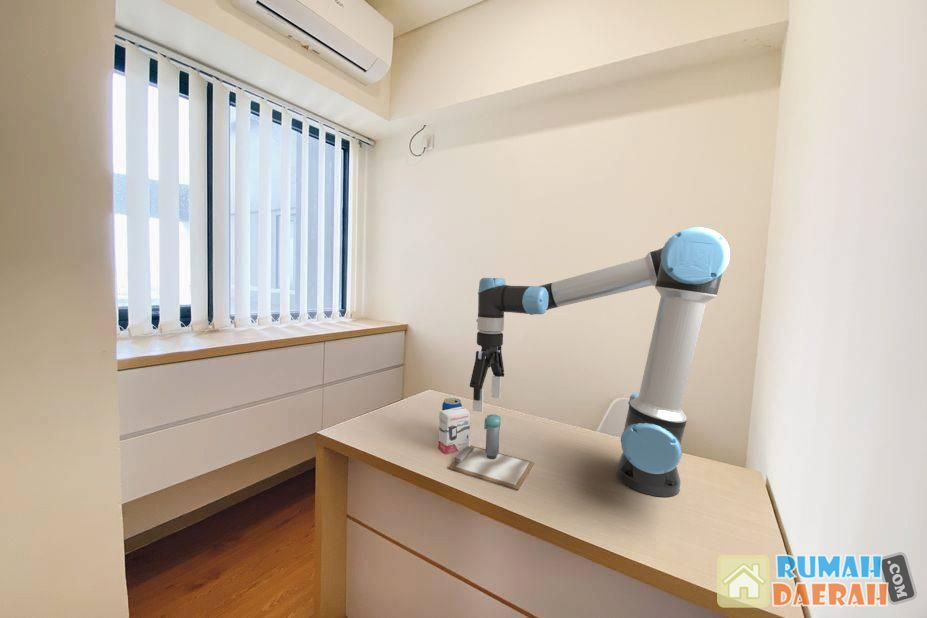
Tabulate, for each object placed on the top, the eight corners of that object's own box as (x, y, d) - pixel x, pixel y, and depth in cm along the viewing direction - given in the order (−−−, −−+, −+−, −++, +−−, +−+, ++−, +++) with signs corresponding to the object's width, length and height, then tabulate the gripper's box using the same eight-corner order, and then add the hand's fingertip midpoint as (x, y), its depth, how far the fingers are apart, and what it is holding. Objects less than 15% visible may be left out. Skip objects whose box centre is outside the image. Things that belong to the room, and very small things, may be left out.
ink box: (446, 455, 104) (447, 416, 103) (437, 448, 108) (439, 410, 107) (469, 448, 108) (471, 411, 108) (460, 441, 113) (462, 406, 112)
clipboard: (533, 463, 101) (534, 458, 100) (517, 490, 87) (518, 484, 87) (470, 446, 109) (471, 441, 109) (447, 468, 96) (447, 462, 96)
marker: (499, 454, 104) (501, 415, 102) (497, 461, 100) (499, 421, 98) (484, 451, 105) (486, 413, 103) (481, 458, 101) (483, 419, 99)
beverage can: (464, 437, 116) (465, 402, 115) (447, 442, 112) (449, 405, 111) (453, 430, 121) (455, 396, 120) (437, 434, 117) (438, 399, 116)
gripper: (493, 326, 114) (491, 390, 115) (458, 335, 91) (456, 414, 93) (516, 328, 110) (513, 394, 112) (485, 338, 88) (482, 420, 90)
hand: (487, 404), depth 102 cm, fingers open, 13 cm apart
